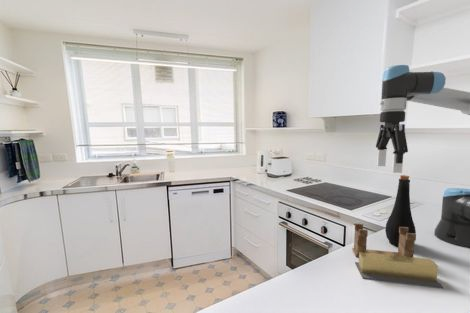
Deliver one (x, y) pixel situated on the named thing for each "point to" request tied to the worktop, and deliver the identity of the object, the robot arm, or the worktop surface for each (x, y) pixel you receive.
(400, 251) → the rack
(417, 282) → the mat
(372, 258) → the rail
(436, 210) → the worktop surface
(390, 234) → the bottle
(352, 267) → the worktop surface
